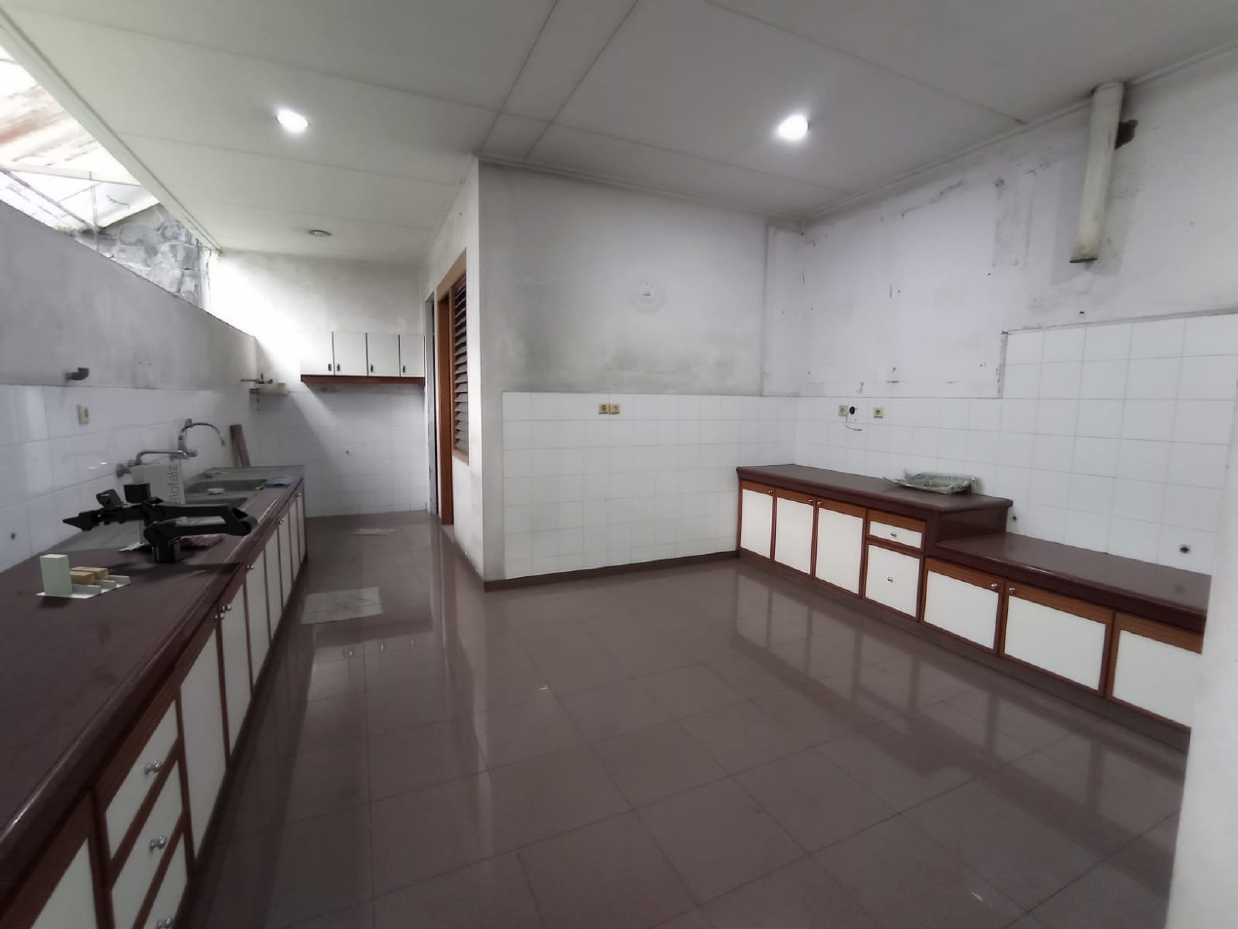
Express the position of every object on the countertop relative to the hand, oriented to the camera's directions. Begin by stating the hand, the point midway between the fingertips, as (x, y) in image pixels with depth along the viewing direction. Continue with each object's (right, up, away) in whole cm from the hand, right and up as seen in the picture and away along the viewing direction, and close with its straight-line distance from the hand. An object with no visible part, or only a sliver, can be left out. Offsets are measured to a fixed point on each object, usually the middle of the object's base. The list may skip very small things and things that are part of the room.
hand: (73, 517), depth 181 cm
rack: (+23, -20, -20) cm, 36 cm away
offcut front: (+21, -18, -16) cm, 32 cm away
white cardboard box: (+5, -13, +30) cm, 33 cm away
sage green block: (+19, -19, -24) cm, 36 cm away
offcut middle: (+20, -19, -20) cm, 34 cm away
